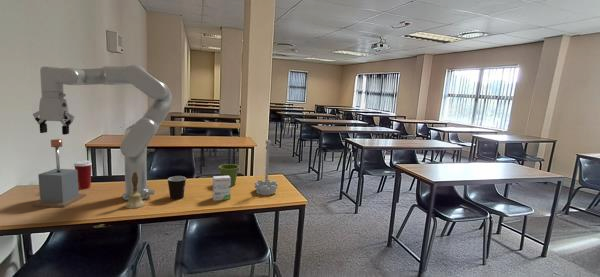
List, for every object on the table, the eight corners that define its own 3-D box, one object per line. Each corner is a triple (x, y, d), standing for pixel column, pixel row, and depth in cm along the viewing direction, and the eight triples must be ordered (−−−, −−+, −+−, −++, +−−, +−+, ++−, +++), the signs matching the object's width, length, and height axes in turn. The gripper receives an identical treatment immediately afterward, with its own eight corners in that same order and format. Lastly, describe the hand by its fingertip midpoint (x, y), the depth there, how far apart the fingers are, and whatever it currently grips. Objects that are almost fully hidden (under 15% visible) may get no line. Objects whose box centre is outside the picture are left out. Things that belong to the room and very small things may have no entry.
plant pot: (233, 180, 186) (233, 163, 184) (242, 185, 177) (243, 167, 175) (215, 183, 178) (215, 165, 176) (223, 189, 169) (224, 170, 168)
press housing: (85, 196, 147) (84, 168, 144) (64, 207, 133) (62, 177, 131) (56, 194, 146) (54, 167, 144) (32, 205, 132) (29, 175, 130)
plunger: (71, 177, 141) (69, 139, 138) (60, 181, 135) (58, 141, 132) (57, 176, 141) (54, 138, 138) (45, 181, 134) (42, 140, 131)
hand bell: (140, 200, 146) (139, 169, 143) (148, 205, 140) (147, 173, 138) (122, 205, 139) (120, 172, 137) (129, 210, 134) (128, 176, 131)
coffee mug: (179, 201, 148) (179, 182, 146) (164, 199, 149) (163, 179, 148) (192, 193, 159) (192, 175, 157) (177, 191, 161) (177, 173, 159)
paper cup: (96, 186, 162) (95, 161, 159) (85, 190, 154) (83, 164, 152) (83, 184, 162) (81, 159, 160) (71, 189, 155) (69, 163, 153)
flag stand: (280, 194, 166) (283, 142, 161) (257, 196, 161) (259, 142, 156) (273, 187, 178) (276, 138, 173) (252, 188, 173) (254, 138, 168)
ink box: (228, 196, 159) (229, 174, 157) (230, 199, 154) (231, 177, 152) (212, 197, 155) (212, 175, 154) (213, 201, 151) (213, 178, 149)
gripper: (78, 96, 136) (80, 133, 138) (39, 93, 135) (41, 131, 138) (66, 96, 128) (68, 136, 131) (25, 93, 128) (27, 133, 130)
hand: (54, 133), depth 134 cm, fingers open, 9 cm apart
